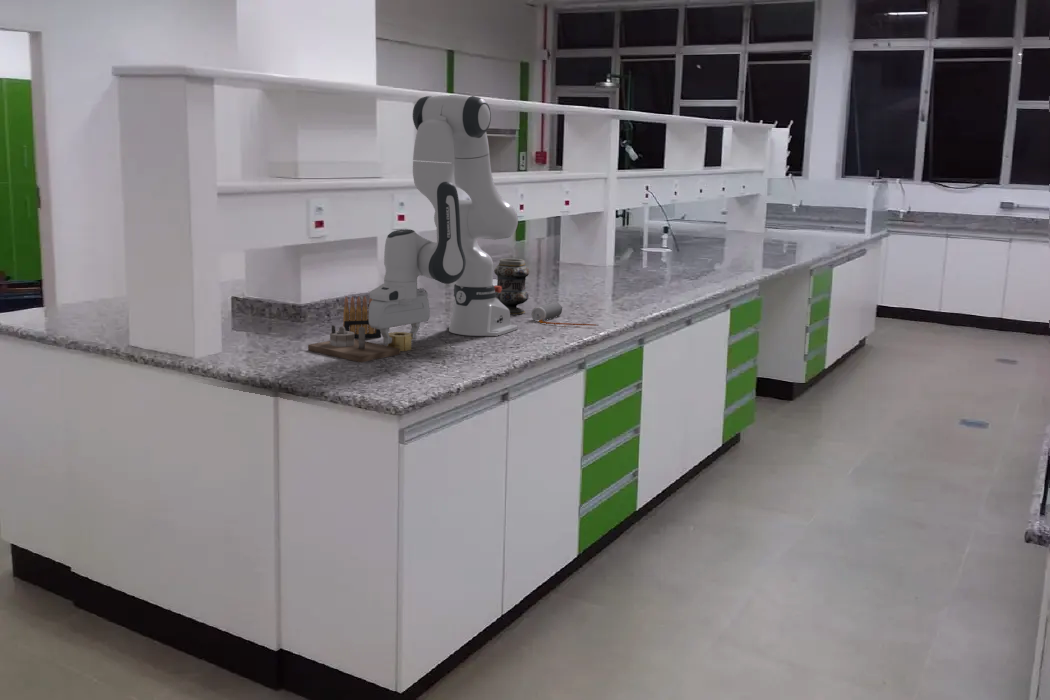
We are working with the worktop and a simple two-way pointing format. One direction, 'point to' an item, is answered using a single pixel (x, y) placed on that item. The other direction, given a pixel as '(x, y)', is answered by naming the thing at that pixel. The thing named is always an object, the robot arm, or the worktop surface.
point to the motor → (550, 313)
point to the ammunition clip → (358, 319)
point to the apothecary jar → (512, 283)
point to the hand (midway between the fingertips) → (400, 341)
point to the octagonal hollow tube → (401, 340)
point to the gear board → (352, 346)
